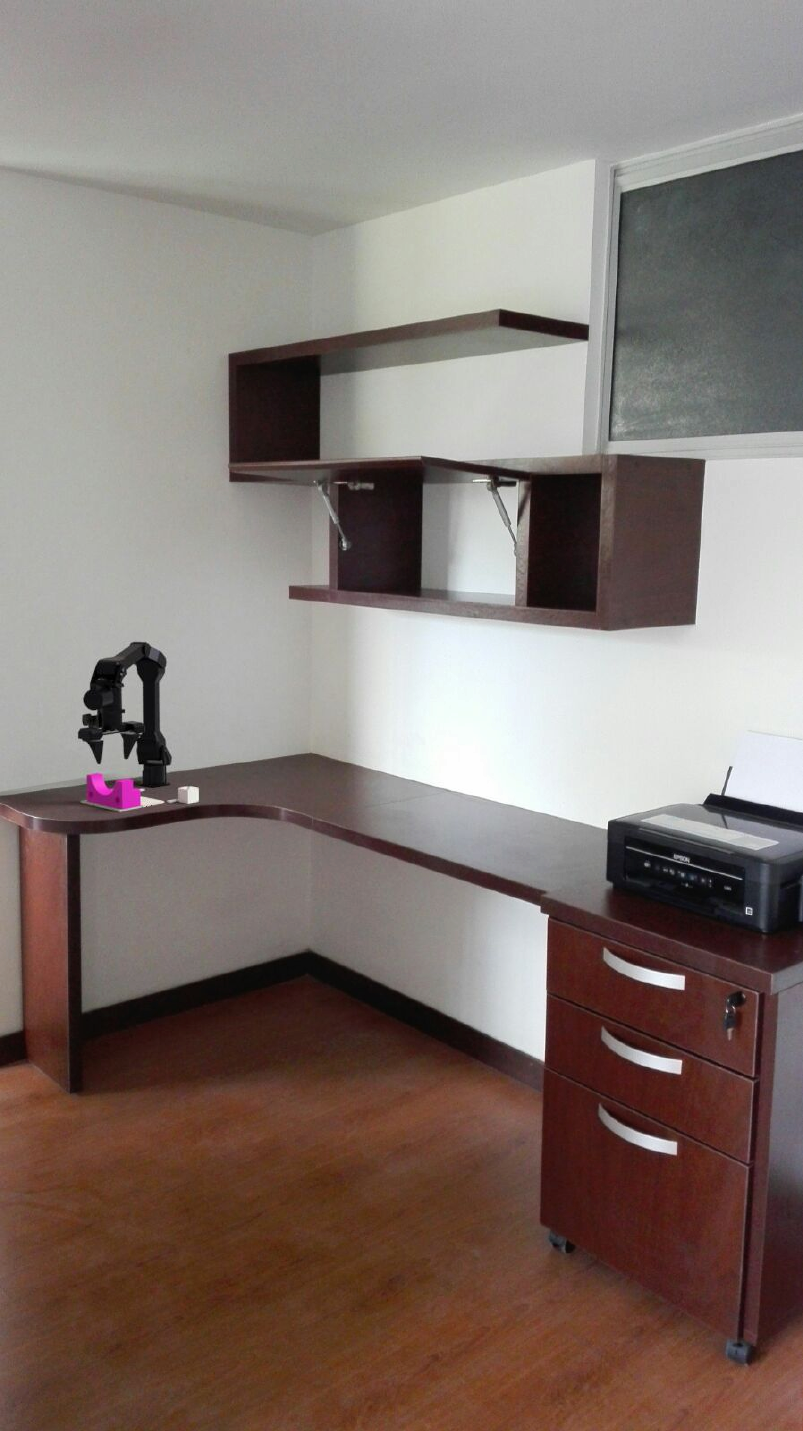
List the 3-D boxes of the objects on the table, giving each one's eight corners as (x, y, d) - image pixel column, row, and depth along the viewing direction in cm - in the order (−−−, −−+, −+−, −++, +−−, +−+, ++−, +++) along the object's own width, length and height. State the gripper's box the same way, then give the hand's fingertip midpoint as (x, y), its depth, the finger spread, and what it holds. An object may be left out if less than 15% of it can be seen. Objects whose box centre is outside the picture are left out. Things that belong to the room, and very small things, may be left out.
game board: (142, 790, 345) (142, 788, 345) (186, 799, 334) (186, 797, 333) (78, 802, 328) (78, 800, 328) (122, 812, 316) (122, 810, 316)
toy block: (140, 805, 322) (140, 778, 321) (122, 809, 317) (122, 782, 316) (105, 798, 331) (104, 771, 330) (87, 801, 326) (86, 774, 325)
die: (189, 799, 334) (188, 785, 333) (198, 802, 331) (198, 787, 331) (178, 802, 331) (178, 787, 330) (187, 804, 328) (187, 789, 328)
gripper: (119, 699, 336) (121, 753, 338) (64, 706, 321) (66, 762, 324) (145, 703, 329) (146, 758, 331) (90, 710, 315) (91, 768, 317)
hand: (112, 761), depth 326 cm, fingers open, 9 cm apart
